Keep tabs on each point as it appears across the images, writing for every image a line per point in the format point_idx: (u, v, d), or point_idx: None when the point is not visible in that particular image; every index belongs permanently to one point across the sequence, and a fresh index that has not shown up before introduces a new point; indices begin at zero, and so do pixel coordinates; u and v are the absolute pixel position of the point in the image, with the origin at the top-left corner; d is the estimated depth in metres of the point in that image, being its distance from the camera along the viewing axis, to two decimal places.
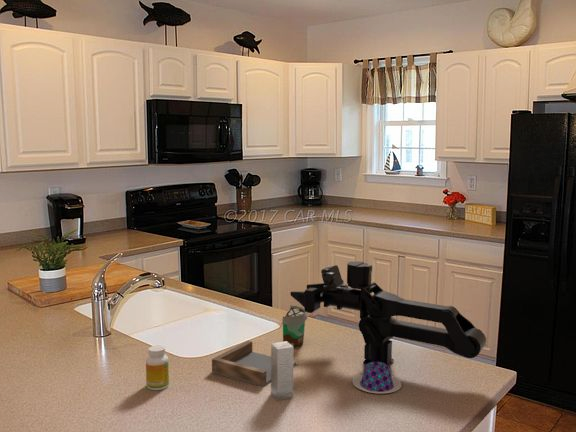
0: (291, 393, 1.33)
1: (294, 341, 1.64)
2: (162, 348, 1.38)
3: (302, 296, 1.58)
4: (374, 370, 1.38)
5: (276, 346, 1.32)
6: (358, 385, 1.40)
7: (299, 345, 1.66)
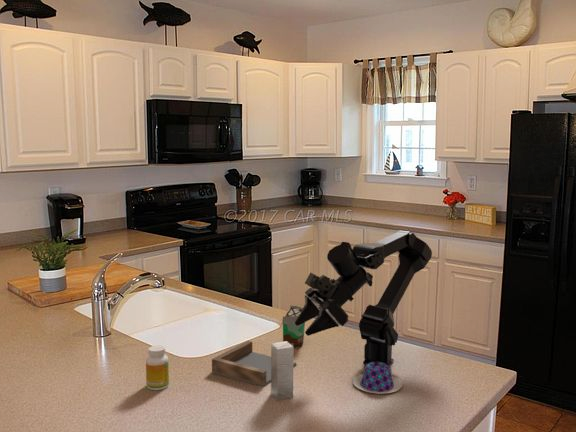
0: (291, 393, 1.33)
1: (294, 341, 1.64)
2: (162, 348, 1.38)
3: (321, 321, 1.35)
4: (374, 370, 1.38)
5: (276, 346, 1.32)
6: (358, 385, 1.40)
7: (299, 345, 1.66)
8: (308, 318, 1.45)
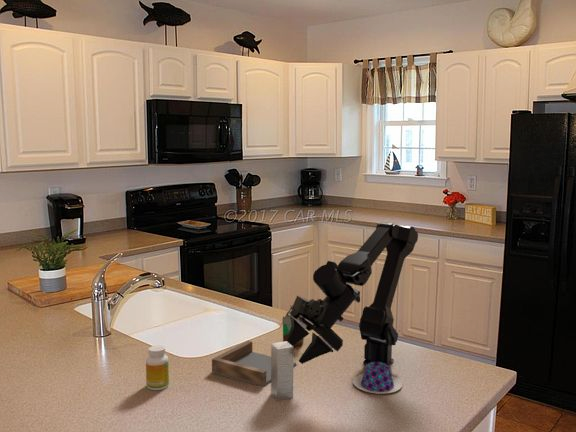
0: (291, 393, 1.33)
1: None
2: (162, 348, 1.38)
3: (314, 348, 1.30)
4: (374, 370, 1.38)
5: (276, 346, 1.32)
6: (358, 385, 1.40)
7: (299, 345, 1.66)
8: (296, 341, 1.39)
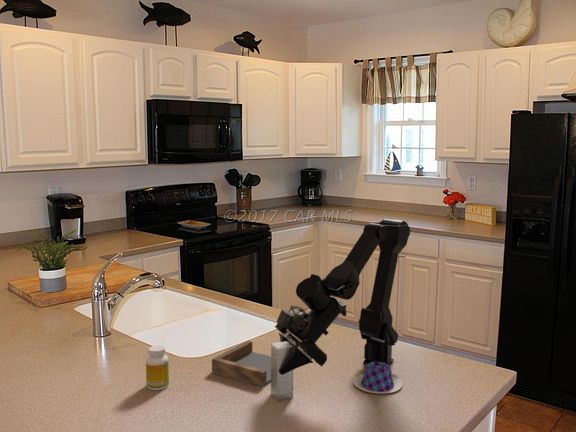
0: (291, 393, 1.33)
1: None
2: (162, 348, 1.38)
3: (294, 359, 1.31)
4: (374, 370, 1.38)
5: (276, 346, 1.32)
6: (359, 385, 1.40)
7: (299, 345, 1.66)
8: None
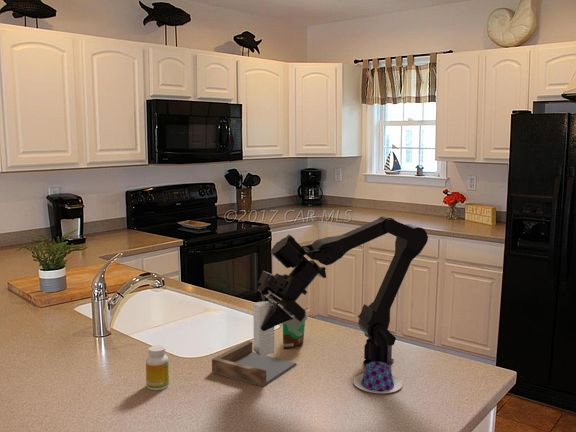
0: (272, 349, 1.42)
1: (294, 341, 1.64)
2: (162, 348, 1.38)
3: (275, 316, 1.40)
4: (374, 370, 1.38)
5: (258, 305, 1.41)
6: (359, 384, 1.40)
7: (299, 345, 1.66)
8: None
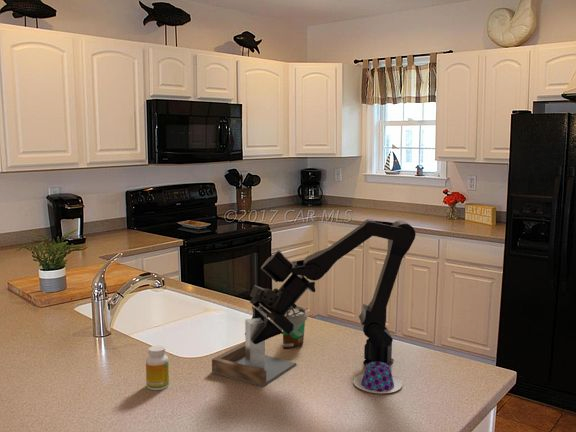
0: (263, 364, 1.49)
1: (294, 341, 1.64)
2: (162, 348, 1.38)
3: (266, 330, 1.45)
4: (373, 370, 1.38)
5: (249, 322, 1.47)
6: (358, 384, 1.41)
7: (299, 345, 1.66)
8: None
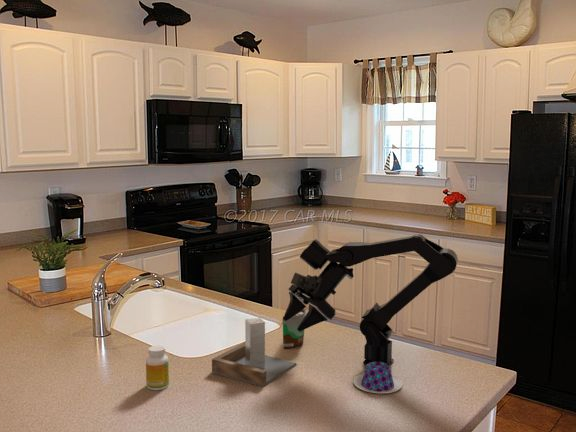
0: (263, 364, 1.49)
1: (294, 341, 1.64)
2: (162, 348, 1.38)
3: (311, 317, 1.48)
4: (373, 370, 1.38)
5: (249, 322, 1.47)
6: (358, 383, 1.41)
7: (299, 345, 1.66)
8: (294, 313, 1.57)
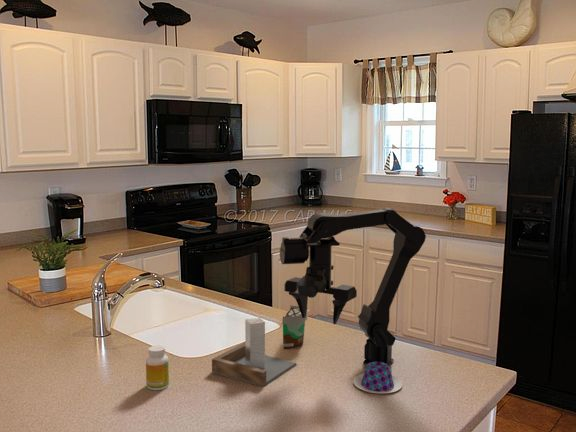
0: (263, 364, 1.49)
1: (294, 341, 1.64)
2: (162, 348, 1.38)
3: (339, 307, 1.45)
4: (372, 369, 1.38)
5: (249, 322, 1.47)
6: (358, 383, 1.41)
7: (299, 345, 1.66)
8: (306, 304, 1.52)
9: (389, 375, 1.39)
